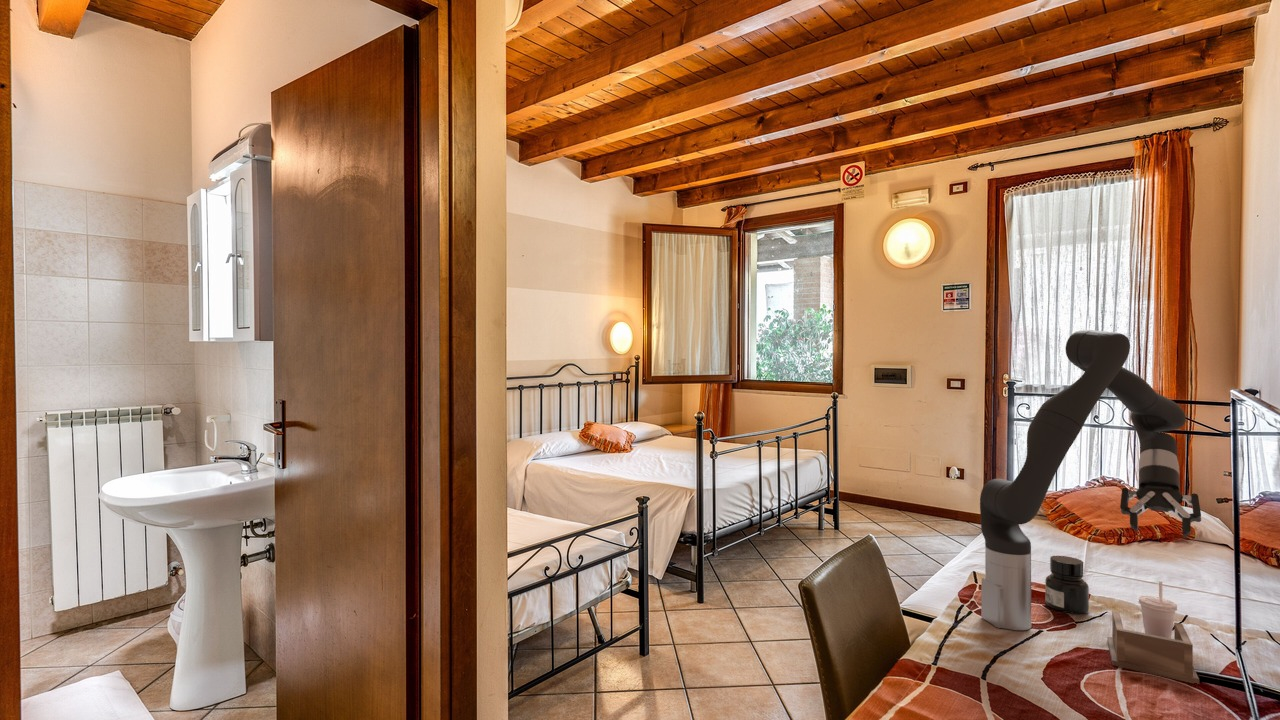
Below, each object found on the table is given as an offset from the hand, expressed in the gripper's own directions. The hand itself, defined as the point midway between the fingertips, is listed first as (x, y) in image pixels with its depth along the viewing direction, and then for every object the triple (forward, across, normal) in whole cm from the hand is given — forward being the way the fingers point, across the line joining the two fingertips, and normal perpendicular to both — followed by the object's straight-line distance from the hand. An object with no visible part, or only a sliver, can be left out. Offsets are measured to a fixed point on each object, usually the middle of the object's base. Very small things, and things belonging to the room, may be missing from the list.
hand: (1159, 532), depth 138 cm
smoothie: (+24, -1, +6) cm, 25 cm away
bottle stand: (+30, -2, -2) cm, 31 cm away
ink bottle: (+16, -18, +15) cm, 29 cm away
